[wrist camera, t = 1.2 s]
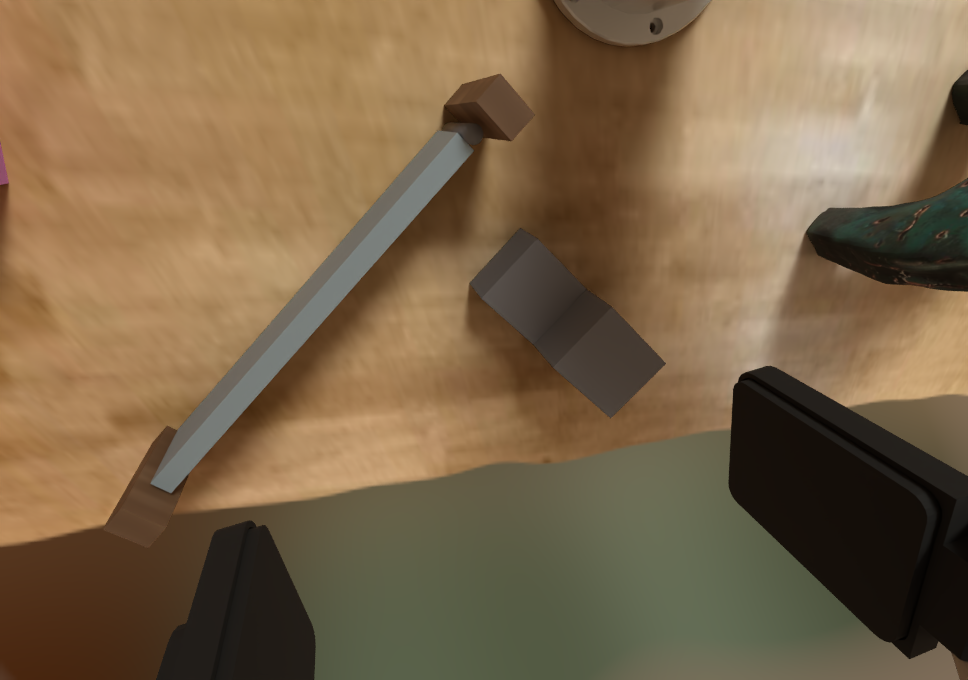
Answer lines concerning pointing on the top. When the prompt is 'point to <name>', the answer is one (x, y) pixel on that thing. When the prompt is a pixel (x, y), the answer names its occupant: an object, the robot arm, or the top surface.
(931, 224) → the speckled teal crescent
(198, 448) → the grey long flat board
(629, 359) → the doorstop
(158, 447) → the frame
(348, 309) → the top surface
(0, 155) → the bracket
